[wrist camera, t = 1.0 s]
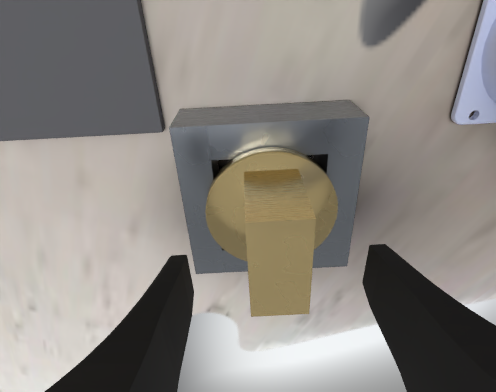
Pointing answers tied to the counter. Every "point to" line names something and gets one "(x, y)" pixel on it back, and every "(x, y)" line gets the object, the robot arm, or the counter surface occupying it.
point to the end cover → (273, 223)
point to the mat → (75, 70)
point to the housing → (263, 136)
